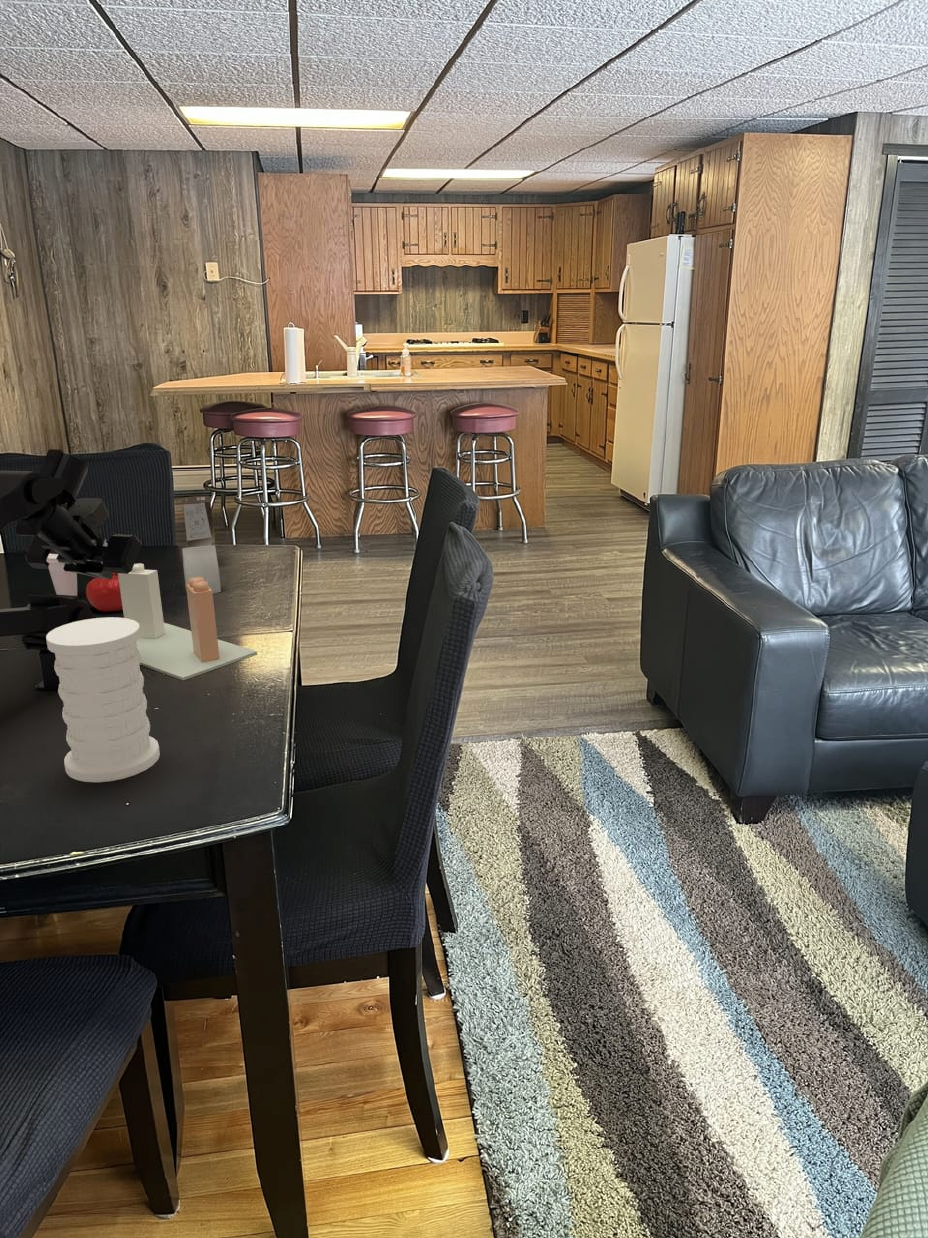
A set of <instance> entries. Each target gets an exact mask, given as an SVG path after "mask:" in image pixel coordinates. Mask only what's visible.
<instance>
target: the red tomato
mask: <svg viewBox="0 0 928 1238" xmlns="http://www.w3.org/2000/svg"><path fill="white" fill-rule="evenodd" d="M91 579H92V580H90V581H89V582H88V583H87V585H86V588H85V594H86V595H85V596H86V597H87V598H86V599H87V600H88V601H89V603H90V604H91V606H92V607H94V608H95V609H97V610H98V611H99V612H100V611H101V612H105V613H106V612H119V611H123V606H122V599H121V592H120V585H119V578H118V573H113V577H112V579H111V580H109V579H103V578H98V577H93V576H91Z"/></svg>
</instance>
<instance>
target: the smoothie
mask: <svg viewBox="0 0 928 1238" xmlns="http://www.w3.org/2000/svg"><path fill="white" fill-rule="evenodd" d="M57 556H58V554H49V555H48V558H47V560H46V561H47V562H48V563H49V566H48V568H47V569H48V570H49V574H50V578H51V581H52V584H53V588H54V592H55V593H56V594H57V595H72V596H78V575H77V574H78V573H73V572H66V571H64V569H63V568H64V564H63V563H59V562H58V560H57V559H56V558H57Z"/></svg>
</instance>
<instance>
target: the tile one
mask: <svg viewBox="0 0 928 1238" xmlns="http://www.w3.org/2000/svg"><path fill="white" fill-rule="evenodd" d="M118 578H119V585H120V592H121V599H122V606H123V610H122V612H123V618H127V619H131V620H135V621H136V622H138V623H139V626H140V632H141V637H140V638H152V639H156V638H158V637H160V636H162V635H163V634H165V629H164V623H165V622H164V615H163V614H164V613H163V607H162V606H163V605H162V599H161V590H160V584H159V583H160V582H159V575H158V569H145V565H144V563H141V562H139V563H134V566H133V569H132V571H131V572H129V573H128V574H123V573H118Z"/></svg>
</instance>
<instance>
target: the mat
mask: <svg viewBox="0 0 928 1238" xmlns="http://www.w3.org/2000/svg"><path fill="white" fill-rule="evenodd" d="M164 629H165V634H163V635H162V636H160V637H158V638H156V639H152V638H139V640H137V641H136V645H137V648H138V650H139V652H140V655H141V660H140V661H141V662H140V664H139V666H142V665H143V666H142V667H146V668H148V669H150V668H151V670H154V671H155V672H159V673H160V674H161V673H162V674H164V675H167V676H170V677H173V678H174V679H178V680H181V681H185V680H186V681H187V680H188V679H192V678H194V677H197V676H200V675H203V674H206V673H209V672H211V671H214V670H217V669H220V668H223V667H224V666H228V665H231V664H233V663H235V662H236V663H237V662H239V661H242V660H245V659H247V658H250V657H253V656H256V655H258V651H256V650H253V649H250V648H248V647H247V648H246V647H245V646H244V647H243V646H241V645H237V644H234V643H230V642H227V641H224V640H221V639H218V638H217V639H218V649H219V658H220V659H216V660H210V661H205V662H201V661H200V659H199V658H198V657H197V655H196V654H195V652H194V650H193V641H192V633H191V629H190V630H189V629H187V628H182V627H179V626H176V625H173V624H170V623H167V622H164Z"/></svg>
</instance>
